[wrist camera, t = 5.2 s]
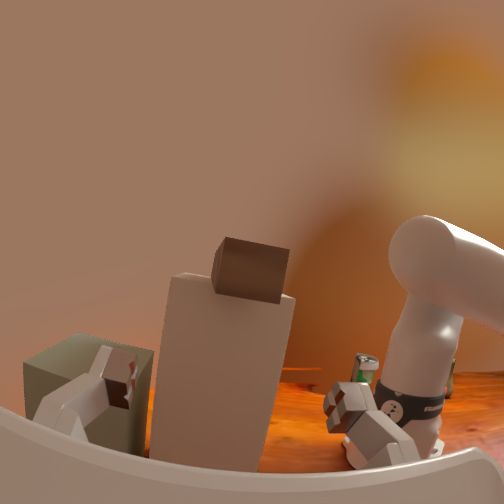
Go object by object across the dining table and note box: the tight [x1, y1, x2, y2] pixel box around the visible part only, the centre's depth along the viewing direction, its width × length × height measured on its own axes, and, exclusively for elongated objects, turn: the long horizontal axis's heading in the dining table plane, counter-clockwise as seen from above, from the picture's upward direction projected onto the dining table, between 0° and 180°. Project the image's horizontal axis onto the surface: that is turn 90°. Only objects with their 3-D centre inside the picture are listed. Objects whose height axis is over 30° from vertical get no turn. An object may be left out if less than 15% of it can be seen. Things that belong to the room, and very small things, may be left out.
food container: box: [350, 353, 379, 387], centre depth 78 cm, size 12×6×10 cm, turn 167°
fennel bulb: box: [445, 359, 456, 398], centre depth 75 cm, size 6×5×12 cm
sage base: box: [23, 332, 154, 457], centre depth 27 cm, size 14×10×16 cm
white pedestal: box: [149, 272, 296, 473], centre depth 31 cm, size 15×10×26 cm, turn 8°
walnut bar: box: [211, 237, 289, 305], centre depth 27 cm, size 21×4×3 cm, turn 8°
